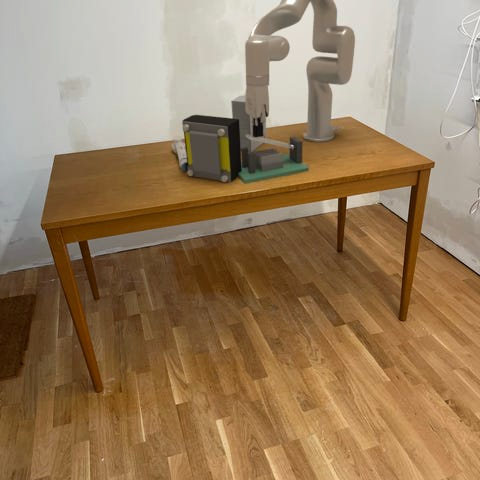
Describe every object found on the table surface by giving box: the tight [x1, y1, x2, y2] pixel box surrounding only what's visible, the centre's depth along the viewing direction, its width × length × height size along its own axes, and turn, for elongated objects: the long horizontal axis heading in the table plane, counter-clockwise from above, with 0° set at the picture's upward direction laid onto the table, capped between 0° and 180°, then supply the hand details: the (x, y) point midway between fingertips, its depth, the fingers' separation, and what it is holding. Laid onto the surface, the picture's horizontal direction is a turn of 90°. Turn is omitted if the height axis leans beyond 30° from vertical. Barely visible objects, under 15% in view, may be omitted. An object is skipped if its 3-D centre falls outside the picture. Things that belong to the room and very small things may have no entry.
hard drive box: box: [230, 91, 267, 153], centre depth 183 cm, size 16×8×20 cm, turn 154°
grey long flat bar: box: [246, 134, 295, 150], centre depth 162 cm, size 18×4×1 cm, turn 111°
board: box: [238, 136, 309, 184], centre depth 164 cm, size 24×16×9 cm, turn 111°
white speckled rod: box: [171, 135, 188, 172], centre depth 177 cm, size 5×7×25 cm
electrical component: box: [181, 114, 242, 183], centre depth 159 cm, size 18×10×20 cm, turn 62°
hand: (258, 136), depth 158 cm, fingers closed
